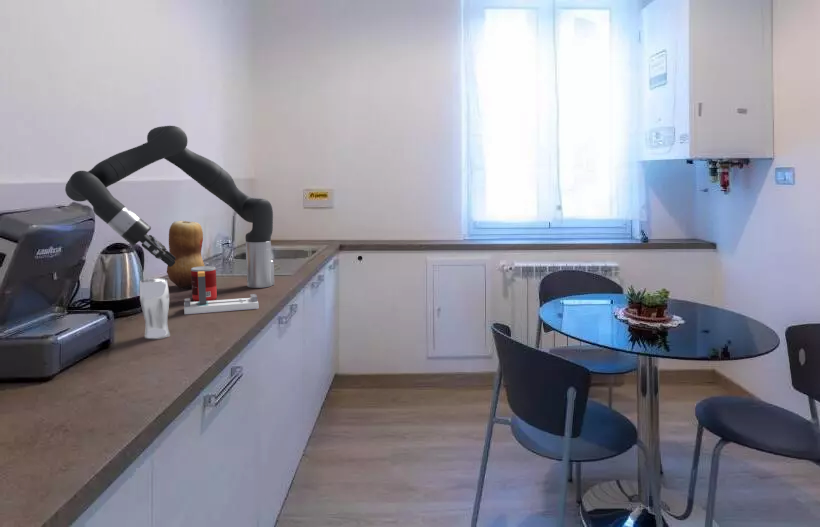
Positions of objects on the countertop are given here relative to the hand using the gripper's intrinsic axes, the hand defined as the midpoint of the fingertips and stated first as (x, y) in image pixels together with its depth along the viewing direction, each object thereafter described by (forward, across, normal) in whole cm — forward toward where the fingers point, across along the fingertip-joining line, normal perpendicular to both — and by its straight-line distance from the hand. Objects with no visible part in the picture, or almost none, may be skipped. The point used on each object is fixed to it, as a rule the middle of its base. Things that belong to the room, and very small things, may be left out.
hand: (173, 262), depth 176 cm
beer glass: (+8, -27, +14) cm, 32 cm away
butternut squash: (+13, +42, +9) cm, 45 cm away
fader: (+15, 0, +4) cm, 15 cm away
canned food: (+17, +16, +5) cm, 24 cm away
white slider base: (+20, 0, +1) cm, 20 cm away
